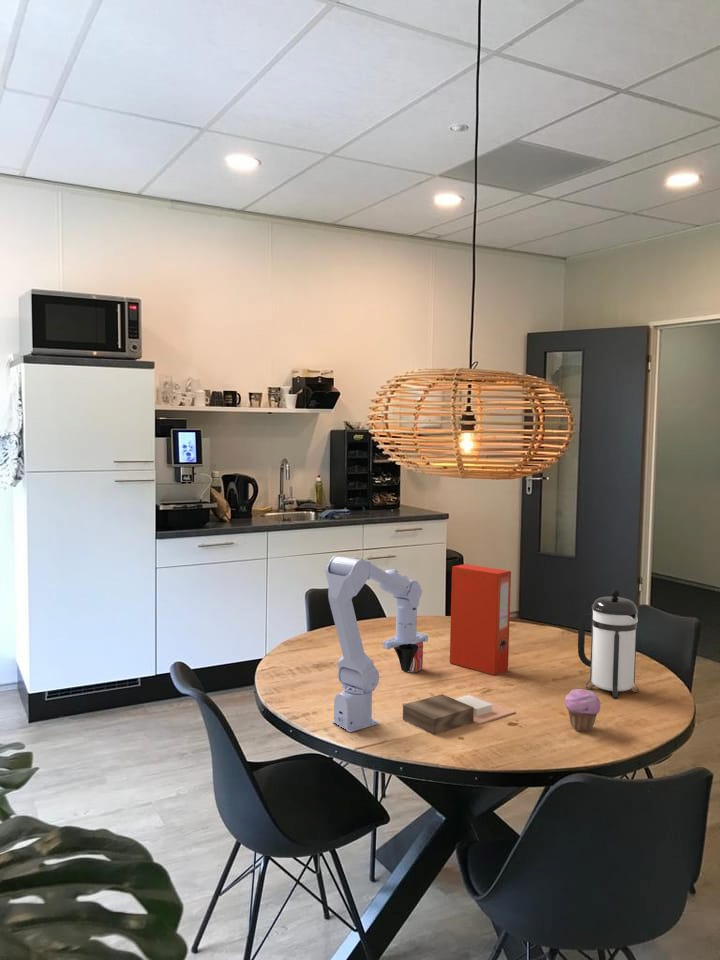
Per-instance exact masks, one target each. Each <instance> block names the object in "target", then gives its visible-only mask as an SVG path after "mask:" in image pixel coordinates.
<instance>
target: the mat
mask: <svg viewBox="0 0 720 960" xmlns="http://www.w3.org/2000/svg"><path fill="white" fill-rule="evenodd" d="M470 696H473V697H475V698H477V699H480V700H482V701H485V702H487V703H490V704H492V712H490V713H487V714H483V715H480V716H477V717H476V716H474V719H473V723H474V724H476V725H478V726H480V725H483V724H485V723H489V722H492V721H495V720H498V719H502V718H504V717H507V716H511V715H514V714H516V711H515V710H512V709H511V708H507V707H505V706H503V705H500V704H497V703H495V702H493V701H490V700H487V699H485V698H483V697H480V696H477V695H475V694H470Z"/></svg>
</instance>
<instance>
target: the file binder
mask: <svg viewBox="0 0 720 960" xmlns="http://www.w3.org/2000/svg"><path fill="white" fill-rule="evenodd" d="M451 567H452V568H451V593H450V595H451V597H450V598H451V600H450V601H451V602H450V631H449V633H450V637H449V638H450V639H449V664H453V665H457V666H459V665H460V666H459V667H464V668H466V669H472V670H475V671H478V672H482V673H484V674H485V673H486V674H489V675H494V676H498V675H499V674H502V673H504V672H507V671H509V654H510V653H509V649H510V647H509V646H510V619H511V618H510V617H511V616H510V615H511V614H510V613H511V612H510V611H511V587H512V584H511V583H512V581H511V580H512V571H510V570H505V569H499V568H493V567H492V568H491V567H485V566H480V565H474V564H467V563H464V564H459V565H452V566H451Z"/></svg>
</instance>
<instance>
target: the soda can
mask: <svg viewBox="0 0 720 960" xmlns="http://www.w3.org/2000/svg"><path fill="white" fill-rule="evenodd" d="M416 634H422V632H420V631H418V630H417V633H416ZM415 645H417V646H418V651H417V652H416V654H415V656H414V658H413V661H412V664H411V667H410V671H409V672H408V673H417V672H416V671H418V672H420V671H421V670H422V669H423V665H424V664H423V663H424V642H419V643H416V644H415Z"/></svg>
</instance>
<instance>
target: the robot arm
mask: <svg viewBox="0 0 720 960" xmlns="http://www.w3.org/2000/svg"><path fill="white" fill-rule="evenodd" d="M324 572H325V575H326V580H327V584H328V591H327V594H328V596H327V597H328V602H329V605H330V606H329V607H330V610H331V614H332V618H333V622H334V626H335V629H336V634H337V638H338V642H339V646H340V649H341V653H342V656H341V657H340V658H339V659H338V661H337V668H338V669H337V670H338V671H337V678H338V681H339V683H340V684H342V685H341V688H342V689H343V690H342V691H341V692H340V693H338V694H336V695H335V696H334V701H333V703H334V704H333V705H334V706H333V720H332V721H333V722H334V723H336V724H337V725H336V724H335V725H336V726H338V725H339V726H338V727H339V728H341V727H342V729H343V728H344V729H343V730H345V729H346V730H345V731H347V732H349V733H351V732H355V731H358V730H362V729H366V728H370V727H373V726H377V725H379V724H380V723H379V721H378V720H375V719H374V718H372V717H373V715H372V714H373V709H372V708H373V692H374V691H375V689H376V688H377V686H378V684H379V681H380V674H379V671H378V669H377V667H376V666H375V664H374V660H372V658H371V657H369V655H367V654H366V653H365V649H364V646H363V642H362V641H363V640H362V637H361V632H360V628H359V624H358V621H357V618H356V617H357V616H356V613H355V608H354V604H353V601H352V600H353V598H354V597H356V596H357V595H358V593H360V591H361V589H362V588H363V587H364V586H365V584H366V582H367V581H369V580H372V581H374V582H377V583H378V586H379V588H380V589H381V590H383V591H385V592H386V593H389V594H391V595H392V597H393V598H394V599H396V601H395V602H396V608H395V610H396V611H395V613H396V614H395V636H394V637H392V638H389V639H387V640H383V641H382V643H383V645H382V646H383V647H382V648H383V649H385V650H391V649H394V651H395V653H396V655H397V659H398V661H399V665H400V669H401V671H403V672H405V673H409V672H408V671H410V667H411V664H412V661H413V658H414V656H415V654H416V652H417V651H418V646H417V645H415V644H416V643H419V642H423V643H429V634H426V633H421V634H416V633H417V631H418V630H417V625H418V623H417V622H418V619H417V618H418V607H419V605H420V600H421V597H422V592H423V589H422V588H421V587H422V586H421V584H419V582H418V581H417V580H413V579H410V578H408V575H405V574H400V573H398V572H399V571H398V570H397V569H395V568H391V569H386V570H383V569H382V568H380V567H379V566H377V565H375V564H374V563H372V562H371V561H368V560H365V559H363V558H362V559H358V558H352V557H346V556H342V555H339V554H338V555H334V556H332V557H331V558H330V560H329V561H328V563H327V566H326V568H325V571H324ZM333 722H332V723H333ZM334 723H333V724H334Z"/></svg>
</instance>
